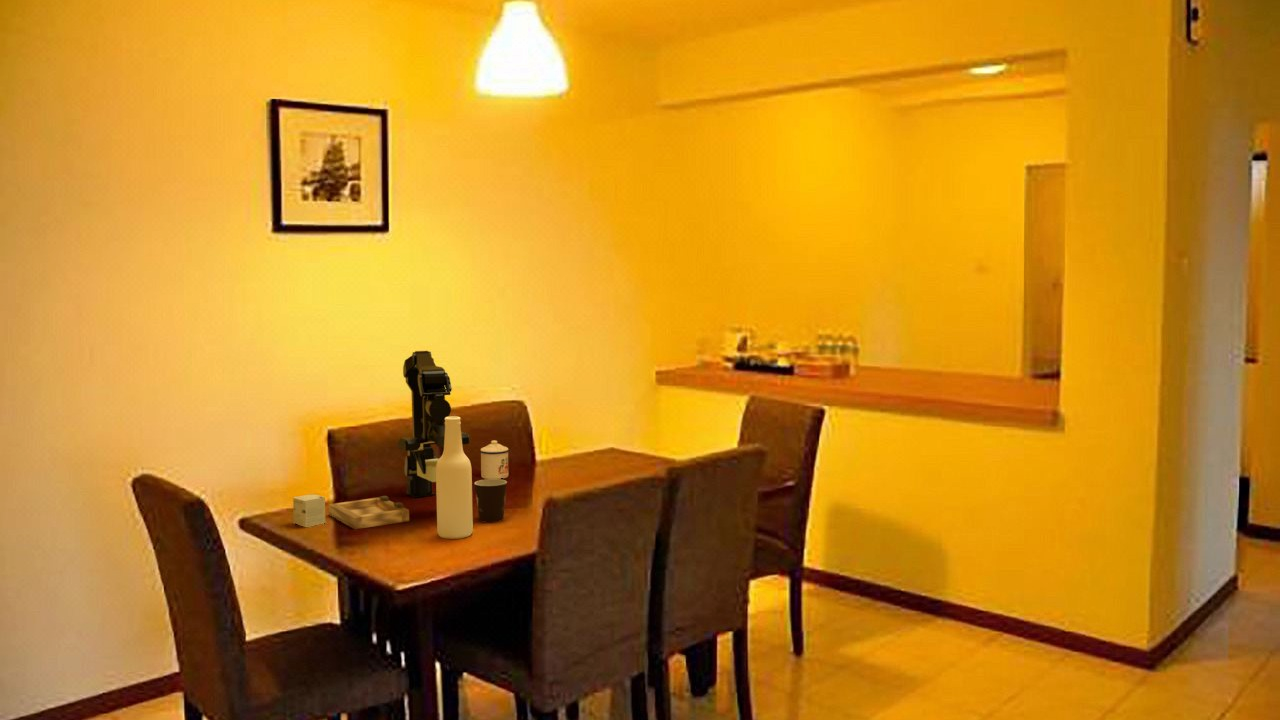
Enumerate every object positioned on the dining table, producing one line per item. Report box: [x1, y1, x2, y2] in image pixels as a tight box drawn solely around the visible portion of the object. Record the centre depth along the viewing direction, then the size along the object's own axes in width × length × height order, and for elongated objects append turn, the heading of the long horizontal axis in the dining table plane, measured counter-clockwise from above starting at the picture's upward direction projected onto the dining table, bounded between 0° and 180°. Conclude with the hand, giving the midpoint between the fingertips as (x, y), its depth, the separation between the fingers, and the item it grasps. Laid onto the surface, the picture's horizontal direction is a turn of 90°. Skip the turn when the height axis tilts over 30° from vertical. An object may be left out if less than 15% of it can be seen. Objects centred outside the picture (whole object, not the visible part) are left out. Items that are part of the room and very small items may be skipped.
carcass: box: [328, 495, 410, 530], centre depth 287 cm, size 15×19×4 cm
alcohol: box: [435, 415, 474, 540], centre depth 268 cm, size 9×9×30 cm
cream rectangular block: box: [417, 458, 439, 483], centre depth 289 cm, size 6×11×4 cm, turn 34°
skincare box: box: [292, 493, 326, 528], centre depth 281 cm, size 6×6×7 cm
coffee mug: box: [473, 479, 508, 523], centre depth 286 cm, size 12×9×10 cm
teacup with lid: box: [479, 439, 510, 480], centre depth 342 cm, size 12×9×12 cm
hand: (435, 472), depth 289 cm, fingers closed on cream rectangular block, 6 cm apart
